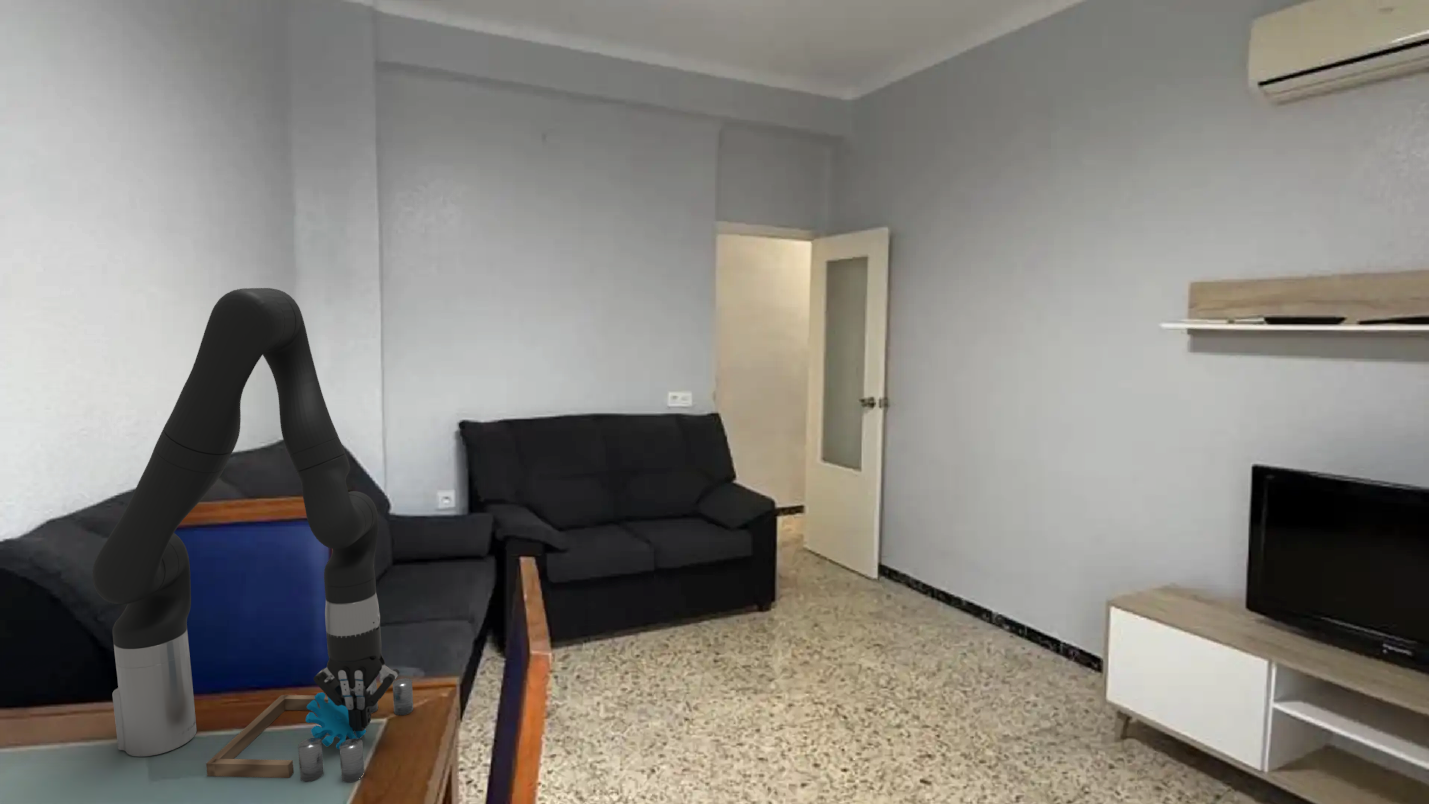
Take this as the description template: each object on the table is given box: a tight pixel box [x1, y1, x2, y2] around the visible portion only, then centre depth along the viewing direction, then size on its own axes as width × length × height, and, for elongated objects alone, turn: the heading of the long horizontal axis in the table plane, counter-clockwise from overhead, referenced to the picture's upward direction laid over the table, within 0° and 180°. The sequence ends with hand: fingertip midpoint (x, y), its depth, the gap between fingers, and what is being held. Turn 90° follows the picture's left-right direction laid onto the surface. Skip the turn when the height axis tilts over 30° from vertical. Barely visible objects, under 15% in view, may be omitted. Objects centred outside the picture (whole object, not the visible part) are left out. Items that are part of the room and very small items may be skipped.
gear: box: [305, 691, 367, 750], centre depth 124 cm, size 11×6×10 cm
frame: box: [205, 694, 328, 779], centre depth 124 cm, size 12×19×2 cm, turn 179°
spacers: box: [297, 677, 414, 783], centre depth 124 cm, size 9×21×5 cm, turn 179°
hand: (360, 728), depth 124 cm, fingers closed
